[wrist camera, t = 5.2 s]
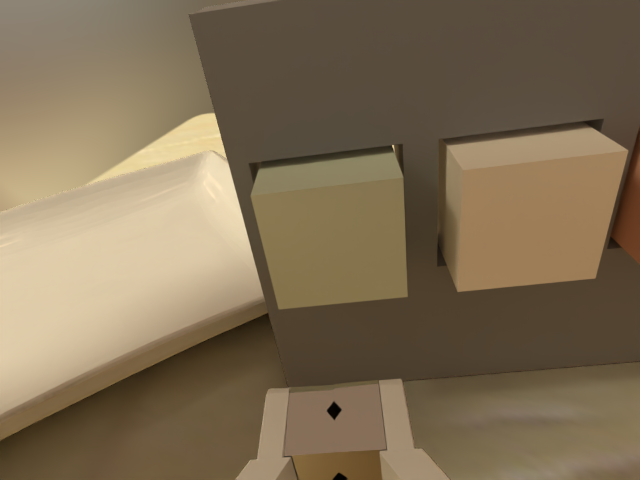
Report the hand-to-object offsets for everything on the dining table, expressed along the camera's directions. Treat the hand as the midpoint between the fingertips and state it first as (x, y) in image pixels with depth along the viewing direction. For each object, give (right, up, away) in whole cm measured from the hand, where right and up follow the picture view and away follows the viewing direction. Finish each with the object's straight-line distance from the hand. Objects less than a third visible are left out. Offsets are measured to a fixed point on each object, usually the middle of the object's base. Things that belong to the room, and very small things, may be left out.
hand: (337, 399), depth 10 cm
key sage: (0, +2, +8) cm, 8 cm away
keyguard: (+8, -1, +14) cm, 16 cm away
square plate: (-16, 0, +23) cm, 28 cm away
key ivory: (+7, +3, +7) cm, 11 cm away
